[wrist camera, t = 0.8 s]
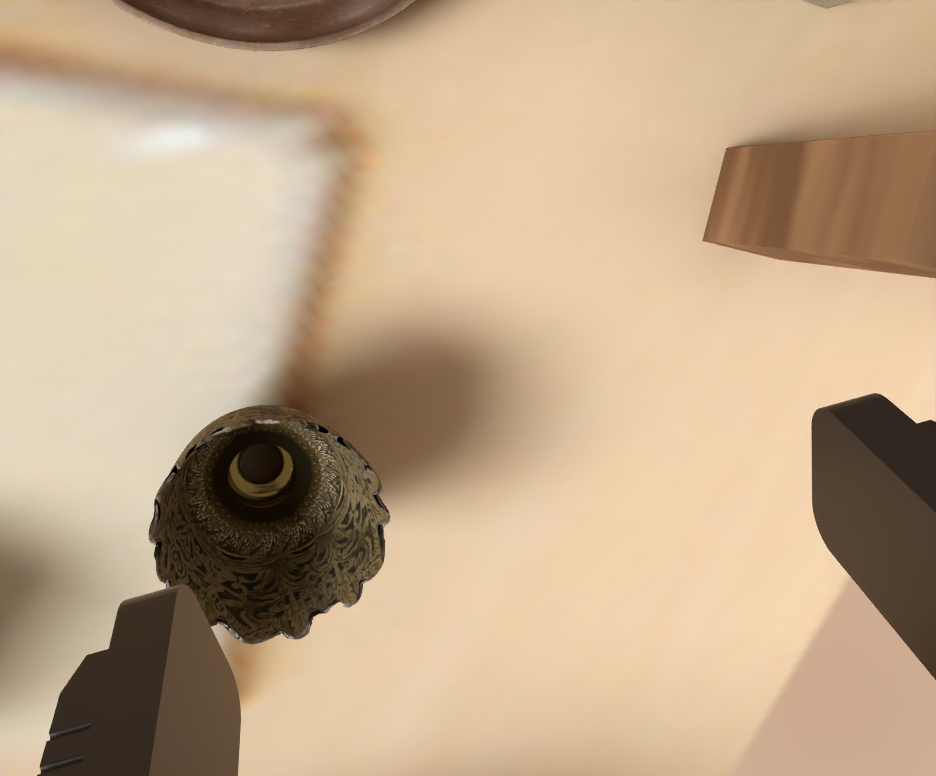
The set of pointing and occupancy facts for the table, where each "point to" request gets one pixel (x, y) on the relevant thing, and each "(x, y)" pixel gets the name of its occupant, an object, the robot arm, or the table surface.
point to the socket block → (827, 2)
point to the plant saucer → (264, 20)
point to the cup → (269, 524)
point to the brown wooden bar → (832, 202)
